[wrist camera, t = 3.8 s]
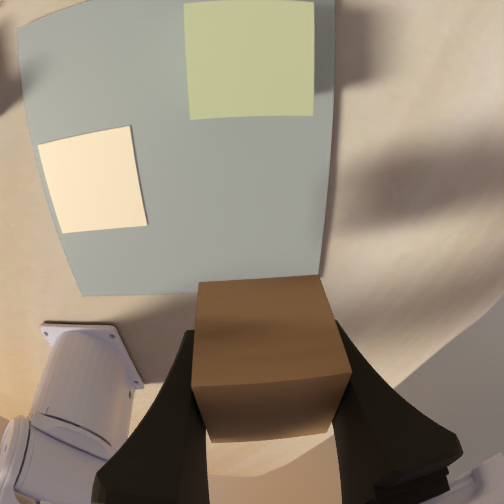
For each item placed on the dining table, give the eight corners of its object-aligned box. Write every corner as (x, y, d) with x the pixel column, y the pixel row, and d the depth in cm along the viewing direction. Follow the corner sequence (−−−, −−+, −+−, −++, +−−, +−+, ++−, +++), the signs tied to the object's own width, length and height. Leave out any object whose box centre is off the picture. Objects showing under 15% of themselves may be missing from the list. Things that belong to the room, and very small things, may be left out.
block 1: (290, 99, 15) (313, 115, 11) (200, 103, 14) (190, 119, 11) (290, 16, 12) (314, 2, 8) (196, 18, 12) (183, 3, 8)
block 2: (307, 348, 14) (326, 432, 11) (211, 355, 14) (211, 442, 11) (318, 274, 12) (352, 372, 8) (198, 281, 12) (191, 386, 8)
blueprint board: (314, 279, 22) (316, 286, 22) (84, 291, 21) (82, 297, 21) (330, -16, 11) (334, -19, 11) (22, 28, 10) (15, 28, 10)
